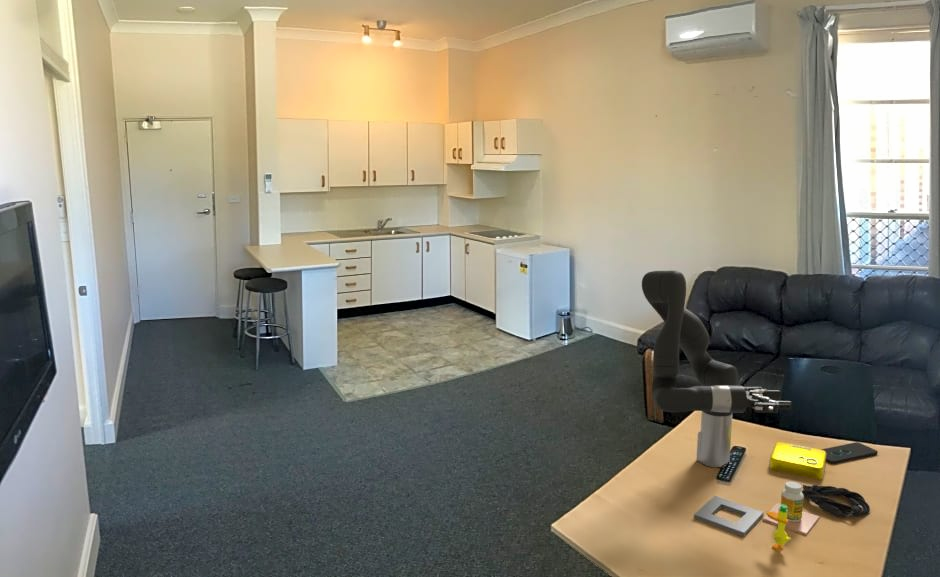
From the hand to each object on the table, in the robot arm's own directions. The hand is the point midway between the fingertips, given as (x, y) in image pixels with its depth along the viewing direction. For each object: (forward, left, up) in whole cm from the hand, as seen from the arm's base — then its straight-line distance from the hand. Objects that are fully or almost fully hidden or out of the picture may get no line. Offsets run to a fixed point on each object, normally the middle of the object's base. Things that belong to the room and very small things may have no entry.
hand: (785, 399), depth 186 cm
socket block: (-6, -19, -30) cm, 36 cm away
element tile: (-3, +26, -31) cm, 40 cm away
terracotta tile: (+7, -9, -30) cm, 32 cm away
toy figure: (+8, -25, -30) cm, 40 cm away
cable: (+13, +8, -31) cm, 34 cm away
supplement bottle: (+6, -9, -30) cm, 32 cm away
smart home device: (+6, +44, -31) cm, 54 cm away
